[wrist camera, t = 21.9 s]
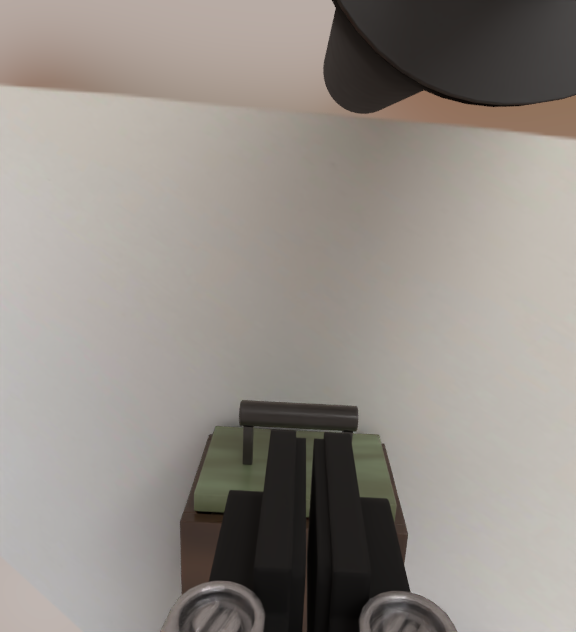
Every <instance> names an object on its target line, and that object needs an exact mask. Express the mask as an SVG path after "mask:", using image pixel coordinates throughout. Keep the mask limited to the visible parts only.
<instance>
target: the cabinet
mask: <svg viewBox="0 0 576 632" xmlns="http://www.w3.org/2000/svg"><path fill="white" fill-rule="evenodd" d="M212 436H213V435H209V437H208V440H207V443H206V446H205V449H204V452H203V455H202V458H201V461H200V464H199V467H198V470H197V473H196V476H195V479H194V482H193V485H192V488H191V491H190V494H189V497H188V500H187V503H186V506H185V509H184V512H183V515H182V518H181V521H180V539H181V587H182V595H183V594H184V593H185V592H187V591H188V590H189V589H191V588H193V587H195V586H198V585H200V584H202V583H207V582H209V578H210V573H211V569H212V564H213V560H214V555H215V551H216V546H217V542H218V538H219V533H220V529H221V524H222V520H223V515H215V514H211V512H202V511H194V492H195V489H196V486H197V483H198V480H199V477H200V473H201V470H202V467H203V464H204V461H205V458H206V455H207V452H208V448H209V445H210V442H211V439H212ZM381 445H382V449H383V453H384V457H385V461H386V465H387V469H388V472H389V476H390V480H391V484H392V488H393V492H394V496H395V500H396V504H397V507H396V515H395V521H394V524H395V528H396V532H397V537H398V541H399V545H400V550H401V554H402V558H403V563H404V562H405V554H406V546H407V539H408V532H407V528H406V524H405V521H404V517H403V513H402V509H401V505H400V501H399V498H398V494H397V490H396V486H395V482H394V478H393V475H392V471H391V467H390V463H389V459H388V456H387V452H386V449H385V445H384V444H381ZM308 526H309V520H306V577H305V595H304V611H303V627H302V632H307V542H308Z"/></svg>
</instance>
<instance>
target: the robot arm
mask: <svg viewBox="0 0 576 632" xmlns="http://www.w3.org/2000/svg"><path fill="white" fill-rule="evenodd" d="M305 577H306V438H298V437H296V431H295V430H276V429H271V433H270V441H269V450H268V458H267V466H266V474H265V482H264V490H263V492H262V491H243V490H230V491H229V493H228V497H227V502H226V506H225V511H224V515H223V520H222V524H221V529H220V533H219V538H218V542H217V546H216V551H215V555H214V560H213V564H212V569H211V573H210V578H209V582H207V583H202V584H200V585H198V586H195V587H193V588H191V589H189V590H188V591H187V592H185V593H184V594H183V595H182V596H180V597H179V598H178V600H177V601H176V602H175V604H174V605H173V607H172V608H171V610H170V612H169V614H168V616H167V618H166V621H165V623H164V625H163V627H162V629H161V631H160V632H302V627H303V611H304V595H305ZM307 632H457V630H456V628H455V626H454V624H453V623H452V621H451V620H450V618H449V617H448V615H447V614H446V613H445V612H444V611H443V610H442V609H441V608H440V607H439V606H437V605H436V604H435V603H434V602H432V601H430V600H428V599H426V598H425V597H423V596H420V595H417V594H414V593H410V589H409V584H408V580H407V576H406V571H405V567H404V563H403V558H402V554H401V550H400V545H399V541H398V537H397V532H396V528H395V524H394V519H393V515H392V511H391V506H390V503H389V500H388V499H387V498H372V497H360V494H359V487H358V481H357V474H356V468H355V461H354V454H353V448H352V441H351V435H350V433H333V432H324V439H317V438H314V446H313V462H312V478H311V494H310V510H309V526H308V542H307Z"/></svg>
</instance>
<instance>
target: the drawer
mask: <svg viewBox="0 0 576 632" xmlns="http://www.w3.org/2000/svg"><path fill="white" fill-rule="evenodd" d="M239 423H240V425H241V426H243V428H242V427H222V426H216V427H215V430H214V433H213V436H212V439H211V442H210V445H209V448H208V452H207V455H206V458H205V461H204V464H203V467H202V470H201V473H200V477H199V480H198V483H197V486H196V489H195V492H194V511H202V512H211V514H215V515H224V511H225V506H226V502H227V497H228V493H229V491H230V490H243V491H262V492H263V490H264V482H265V474H266V466H267V458H268V450H269V441H270V433H271V429H261V428H254V426H260V427H280V428H299V429H318V430H337V431H342V433H350V435H351V441H352V448H353V454H354V461H355V468H356V474H357V481H358V487H359V494H360V497H372V498H387V499H388V500H389V503H390V506H391V511H392V515H393V519H394V521H395V515H396V507H397V504H396V500H395V496H394V492H393V488H392V484H391V480H390V476H389V472H388V469H387V465H386V461H385V457H384V453H383V449H382V445H381V441H380V437H379V435H375V434H356V433H353V431H357V428H358V408H357V406H345V405H326V404H306V403H287V402H268V401H248V400H242V401H241V404H240V413H239ZM276 430H280V429H276ZM295 431H296V437H298V438H306V517H309V510H310V494H311V478H312V462H313V446H314V438H317V439H324V432H318V431H299V430H295ZM333 433H337V432H333Z"/></svg>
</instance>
